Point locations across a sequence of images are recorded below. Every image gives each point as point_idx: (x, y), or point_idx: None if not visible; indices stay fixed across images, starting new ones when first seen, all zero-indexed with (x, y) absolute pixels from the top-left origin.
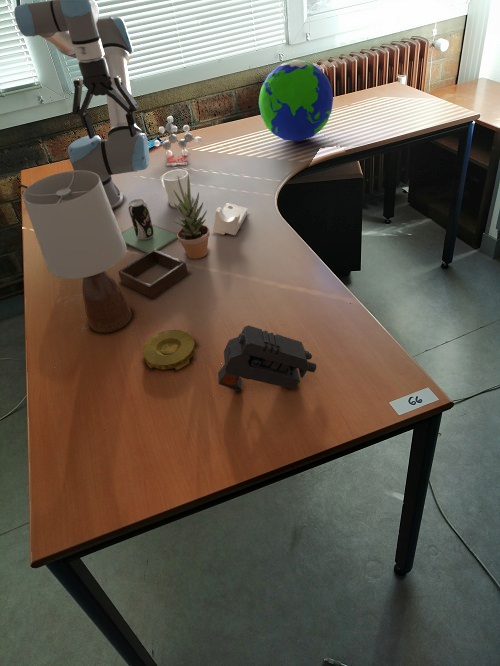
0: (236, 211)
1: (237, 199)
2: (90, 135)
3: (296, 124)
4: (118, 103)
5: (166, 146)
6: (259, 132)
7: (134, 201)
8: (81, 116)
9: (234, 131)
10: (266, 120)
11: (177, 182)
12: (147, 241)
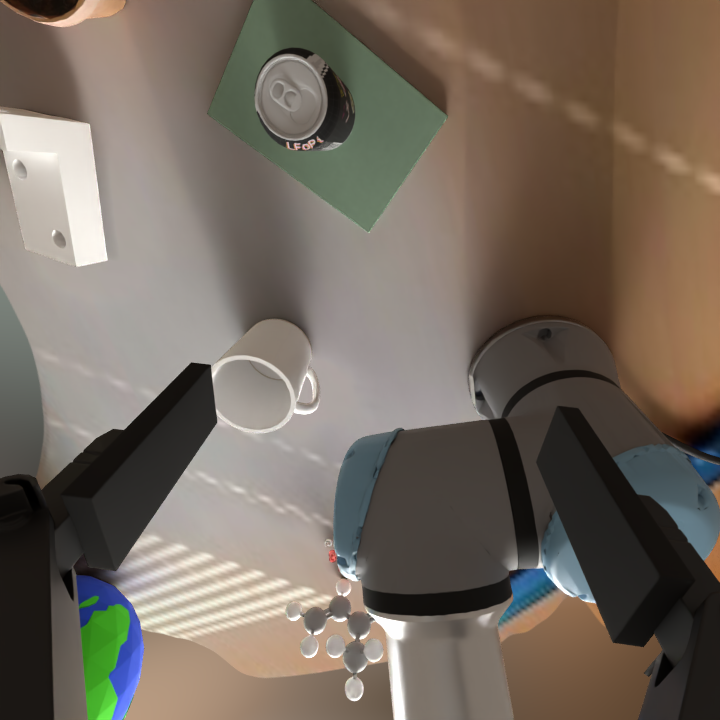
0: (37, 220)
1: (119, 343)
2: (570, 422)
3: None
4: (34, 662)
5: None
6: (198, 630)
7: (309, 121)
8: (712, 599)
9: (257, 646)
10: (103, 634)
11: (231, 352)
12: None
